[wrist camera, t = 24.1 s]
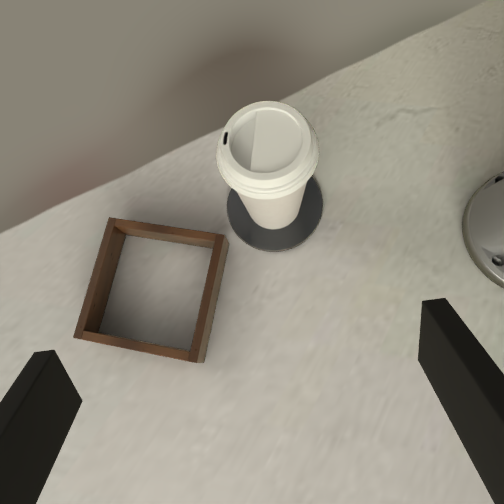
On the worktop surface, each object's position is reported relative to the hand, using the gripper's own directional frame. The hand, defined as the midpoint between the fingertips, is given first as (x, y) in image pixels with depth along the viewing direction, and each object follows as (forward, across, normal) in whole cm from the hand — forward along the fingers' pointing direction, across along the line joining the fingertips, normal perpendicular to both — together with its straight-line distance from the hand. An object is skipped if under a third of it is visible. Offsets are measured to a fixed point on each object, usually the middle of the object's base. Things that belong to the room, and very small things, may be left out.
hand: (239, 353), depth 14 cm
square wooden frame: (+29, -13, -15) cm, 35 cm away
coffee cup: (+34, +2, -9) cm, 36 cm away
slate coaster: (+35, +2, -9) cm, 36 cm away
